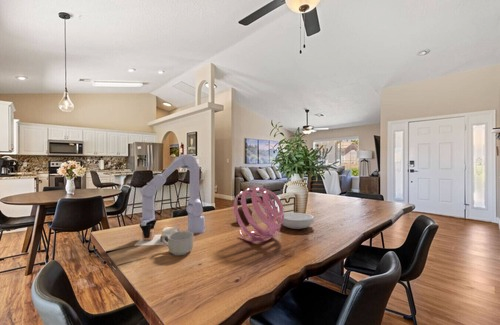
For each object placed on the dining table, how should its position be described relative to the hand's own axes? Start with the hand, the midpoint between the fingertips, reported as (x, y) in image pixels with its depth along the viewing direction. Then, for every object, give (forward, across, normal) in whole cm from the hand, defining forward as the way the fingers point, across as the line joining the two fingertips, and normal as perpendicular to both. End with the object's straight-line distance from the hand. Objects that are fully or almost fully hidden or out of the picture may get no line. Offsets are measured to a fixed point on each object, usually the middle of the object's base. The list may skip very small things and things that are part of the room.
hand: (148, 236), depth 120 cm
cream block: (-1, 0, +11) cm, 11 cm away
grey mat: (+2, 0, +6) cm, 6 cm away
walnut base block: (+2, 0, +11) cm, 11 cm away
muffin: (+2, -31, +50) cm, 59 cm away
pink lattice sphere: (+2, +3, +56) cm, 56 cm away
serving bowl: (+3, -18, +81) cm, 83 cm away
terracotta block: (+1, 0, 0) cm, 1 cm away
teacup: (+2, +17, +18) cm, 25 cm away
